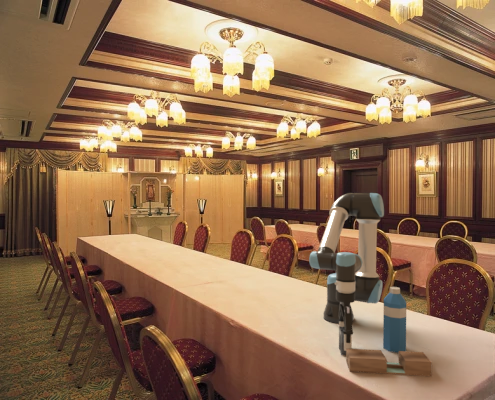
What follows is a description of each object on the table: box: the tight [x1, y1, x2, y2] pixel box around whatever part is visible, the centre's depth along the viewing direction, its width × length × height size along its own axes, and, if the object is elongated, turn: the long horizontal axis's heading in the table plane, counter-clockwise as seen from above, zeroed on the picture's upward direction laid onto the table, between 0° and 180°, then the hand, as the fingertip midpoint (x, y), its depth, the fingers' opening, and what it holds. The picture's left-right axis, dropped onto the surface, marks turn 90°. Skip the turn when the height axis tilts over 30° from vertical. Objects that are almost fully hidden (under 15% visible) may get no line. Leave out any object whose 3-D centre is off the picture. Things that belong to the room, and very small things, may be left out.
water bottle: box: [382, 286, 407, 354], centre depth 150 cm, size 9×9×25 cm
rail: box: [345, 348, 433, 377], centre depth 132 cm, size 8×28×5 cm, turn 84°
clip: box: [338, 325, 353, 356], centre depth 147 cm, size 6×4×9 cm, turn 174°
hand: (344, 343), depth 146 cm, fingers open, 13 cm apart
